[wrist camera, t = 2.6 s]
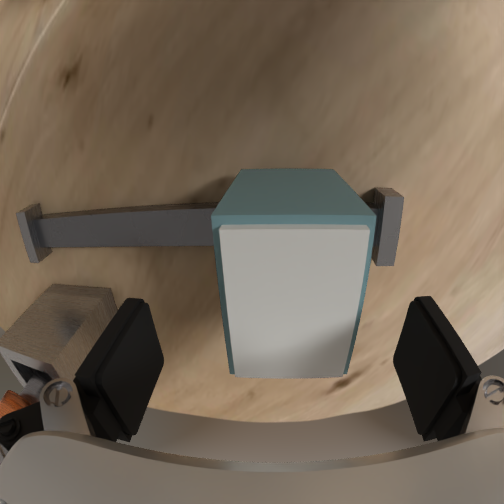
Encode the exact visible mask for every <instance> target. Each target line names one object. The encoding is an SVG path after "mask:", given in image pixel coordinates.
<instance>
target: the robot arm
mask: <svg viewBox="0 0 504 504" xmlns="http://www.w3.org/2000/svg"><path fill="white" fill-rule="evenodd" d="M393 363H394V367H395V369H396V372H397V374H398V377H399V380H400V383H401V385H402V388H403V391H404V394H405V396H406V399H407V402H408V405H409V408H410V411H411V414H412V417H413V420H414V423H415V426H416V429H417V432H418V434H420V435H421V434H422V436H423V440H424V441H428V440H432V439H435V438H437V440H438V441H437V442H433V443H429V444H425V445H421V446H417V447H412V448H407V449H403V450H398V451H393V452H388V453H382V454H376V455H370V456H364V457H356V458H348V459H338V460H327V461H315V462H314V461H313V462H289V463H288V462H287V463H267V462H266V463H263V462H239V461H225V460H214V459H205V458H196V457H188V456H182V455H176V454H170V453H164V452H158V451H154V450H149V449H144V448H139V447H134V446H130V445H125V444H121V443H117V442H116V441H117V439H120V440H124V441H127V442H130V440H131V437H132V435H136V434H137V432H138V429H139V426H140V423H141V421H142V419H143V416H144V413H145V410H146V408H147V405H148V403H149V400H150V398H151V395H152V393H153V390H154V387H155V385H156V382H157V380H158V377H159V375H160V372H161V370H162V367H163V364H164V357H163V353H162V350H161V347H160V343H159V340H158V337H157V333H156V330H155V326H154V323H153V319H152V315H151V312H150V308H149V305H148V303H145V302H144V300H143V299H138V298H127V299H126V300H125V301H124V303H123V304H122V306H121V307H120V308H119V310H118V311H117V313H116V314H115V315H114V317H113V318H112V320H111V321H110V322H109V324H108V325H107V327H106V328H105V330H104V331H103V333H102V334H101V335H100V337H99V338H98V340H97V341H96V343H95V344H94V346H93V347H92V349H91V350H90V352H89V353H88V355H87V356H86V358H85V359H84V361H83V362H82V364H81V366H80V367H79V369H78V370H77V372H76V373H75V376H76V377H75V378H74V380H73V381H72V380H70V379H67V378H57V379H54V380H52V381H50V382H48V383H47V384H46V385H45V386H44V387H43V389H42V390H41V393H40V402H37V403H34V404H32V405H29V406H27V407H24V408H21V409H19V410H16V411H13V412H11V413H8V414H6V415H4V416H2V417H1V418H0V504H504V379H502V378H500V377H498V376H488V377H485V378H484V379H483V380H482V379H481V377H480V374H481V371H480V369H479V368H478V366H477V364H476V363H475V361H474V359H473V358H472V356H471V354H470V353H469V351H468V350H467V348H466V347H465V345H464V343H463V342H462V340H461V339H460V337H459V336H458V334H457V333H456V331H455V330H454V328H453V327H452V325H451V324H450V322H449V321H448V319H447V318H446V317H445V315H444V314H443V312H442V311H441V309H440V308H439V307H438V305H437V304H436V302H435V301H434V300H433V298H432V297H431V296H422V297H416V298H415V299H414V301H412V302H410V305H409V308H408V312H407V315H406V319H405V322H404V325H403V329H402V332H401V335H400V338H399V341H398V344H397V347H396V350H395V353H394V357H393Z"/></svg>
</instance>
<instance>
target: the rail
mask: <svg viewBox="0 0 504 504" xmlns="http://www.w3.org/2000/svg"><path fill="white" fill-rule="evenodd" d="M403 202H404V197H403V196H402V195H400V194H399V193H398V192H396V191H395V190H394V189H392V188H375V192H374V203H366V205H367V206H368V207H369V208H370V209H371V210H372V211H373V212H374V214H375V215H376V225H375V233H374V241H373V248H372V255H371V258H372V259H373V261H374V263H375V265H376V266H394V261H395V256H396V250H397V244H398V238H399V232H400V225H401V218H402V210H403ZM218 204H219V202H217V203H190V204H169V205H151V206H135V207H121V208H108V209H96V210H85V211H74V212H64V213H55V214H46V215H42V212H41V207H40V204H33V205H30V206H28V207H26V208H24V209H23V210H21V211H19V212H17V213H16V215H17V219H18V223H19V227H20V230H21V234H22V237H23V241H24V244H25V247H26V251H27V254H28V257H29V260H30V262H31V263H39V262H40V261H42V260H43V259H44V258H45V257H47V256H48V255H49V254H50V253H52V249H51V247H113V246H214V241H213V231H212V221H211V215H212V213H213V212H214V210H215V209H216V207H217V205H218Z"/></svg>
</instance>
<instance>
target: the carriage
mask: <svg viewBox="0 0 504 504" xmlns="http://www.w3.org/2000/svg"><path fill="white" fill-rule="evenodd" d="M211 221H212V231H213V241H214V251H215V260H216V269H217V278H218V287H219V295H220V303H221V311H222V319H223V327H224V334H225V342H226V349H227V356H228V363H229V370H230V374H235V377H245V378H329V377H343V374H347V372H348V368H349V364H350V360H351V356H352V352H353V348H354V344H355V340H356V335H357V331H358V326H359V322H360V317H361V312H362V307H363V302H364V297H365V292H366V286H367V280H368V274H369V268H370V262H371V255H372V248H373V241H374V233H375V225H376V215H375V214H374V212H373V211H372V210H371V209H370V208H369V207H368V206H367V205H366V203H365V202H364V201H363V200H362V199H361V198H360V197H359V196H358V195H357V194H356V192H355V191H354V190H353V189H352V188H351V187H350V186H349V185H348V184H347V183H346V182H345V181H344V180H343V179H342V178H341V177H340V176H339V175H338V174H337V173H336V172H335V171H334V170H333V169H241V171H240V172H239V174H238V175H237V177H236V178H235V180H234V181H233V183H232V184H231V186H230V187H229V189H228V190H227V192H226V193H225V195H224V196H223V198H222V199H221V201H220V202H219V204H218V205H217V207H216V209H215V210H214V212H213V213H212V215H211Z"/></svg>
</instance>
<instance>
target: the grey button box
mask: <svg viewBox="0 0 504 504" xmlns="http://www.w3.org/2000/svg"><path fill="white" fill-rule="evenodd" d="M117 311H118V310H117V307H116V304H115V301H114V298H113V295H112V292H111V289H110V288H98V287H84V286H71V285H59V284H52V285H51V286H50V287H49V288H48V289H47V290H46V291H45V292H44V293H43V294H42V295H41V296H40V297H39V298H38V299H37V300H36V301H35V302H34V303H33V304H32V305H31V306H30V307H29V308H28V309H27V310H26V311H25V312H24V313H23V314H22V315H21V316H20V317H19V318H18V319H17V321H16V322H15V323H14V324H13V325H12V326H11V327H10V328H9V329H8V330H7V331H6V333H5V334H4V335H3V336H2V337H1V338H0V353H1V355H2V356H3V357H4V359H5V361H6V363H7V364H8V366H9V367H10V369H11V370H12V372H13V373H14V375H15V376H16V378H17V379H18V381H19V382H20V383H21V385H22V386H23V387H25V386H26V384H27V383H28V381H29V380H30V378H31V377H32V375H33V374H34V373H35V371H36V370H39V371H42V372H45V373H48V374H49V376H50V377H51V379H52V380H54V379H57V378H67V379H70V380H72V381H73V380H74V378H75V377H76V376H75V373H76V372H77V370H78V369H79V367H80V366H81V364H82V362H83V361H84V359H85V358H86V356H87V355H88V353H89V352H90V350H91V349H92V347H93V346H94V344H95V343H96V341H97V340H98V338H99V337H100V335H101V334H102V333H103V331H104V330H105V328H106V327H107V325H108V324H109V322H110V321H111V320H112V318H113V317H114V315H115V314H116V313H117Z"/></svg>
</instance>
